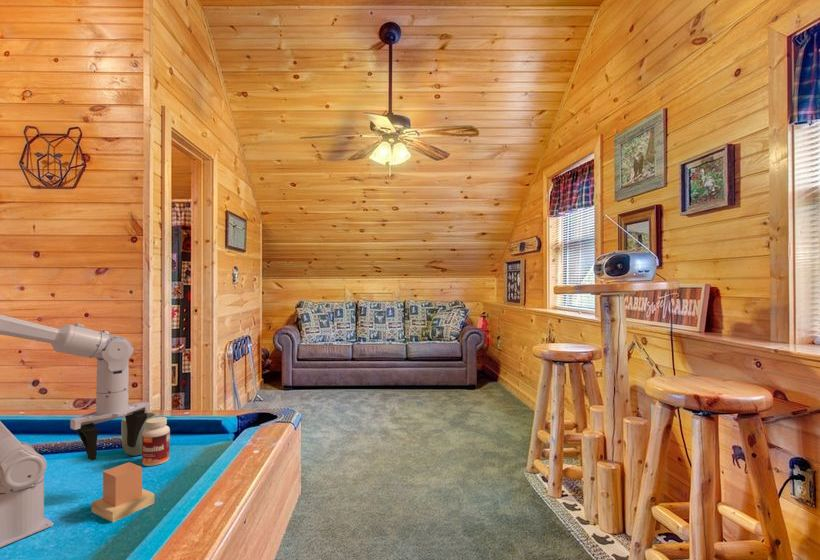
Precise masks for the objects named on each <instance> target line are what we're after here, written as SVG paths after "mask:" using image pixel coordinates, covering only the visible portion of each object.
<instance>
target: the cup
mask: <svg viewBox="0 0 820 560" xmlns="http://www.w3.org/2000/svg"><path fill="white" fill-rule="evenodd" d="M145 413H147V419H146V420H145V422H144V424H143V426H142V428H141V430H140V432H139V435H138V438H137V442H136V446H135V447H133V448H132V447H129V446H128V445H127V424H126V418H125V416H124V417H122V419H121V428H120V430H121V433H120V434H121V438H120V439H121V446H122V449H123V451H124V453H125V454H126V455H127V456H132V457H133V456H140V455H141V456H142V435H143V431H144V430H145V429H146V428H147V427H146V421H147V420H149V419H152V418H156V417H157V415H156V413H154V412H150V411H147V412H145Z"/></svg>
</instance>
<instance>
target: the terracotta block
mask: <svg viewBox="0 0 820 560" xmlns="http://www.w3.org/2000/svg"><path fill="white" fill-rule="evenodd" d="M142 489H143V466H141V465H139V464H138V465H137V464H135V463H132V462H130V461H129V462H126V463H122V464H120V465H118V466H114V467H111V468H109V469H105V470H104V471H102V498H103V501H105V502H107V503H109V504H111V505H113V506H115V507H116V506H119V505H121V504H123V503H126V502H128V501H130V500H133V499H135V498H137V497H140V496H142Z"/></svg>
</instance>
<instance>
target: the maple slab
mask: <svg viewBox="0 0 820 560" xmlns="http://www.w3.org/2000/svg"><path fill="white" fill-rule="evenodd" d="M153 504H155V493H153V492H152V491H149V490H146V489H145V488H142V496H140V497H137V498H135V499H133V500H130V501H128V502H126V503H123V504H121V505H119V506H116V507H115V506H113V505H111V504H109V503H107V502H105V501H103V497H101V498H99V499H96V500H94V501H91V513H93V514H95V515H97V516H99V517H101V518H102V519H105V520H107V521H109V522H110V523H115V522H117V521H118V520H121V519H124V518H126V517H128V516H130V515H132V514H134V513H137V512H138V511H141V510H143V509H145V508H147V507H149V506H151V505H153ZM136 511H137V512H136Z"/></svg>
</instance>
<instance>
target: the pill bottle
mask: <svg viewBox="0 0 820 560" xmlns="http://www.w3.org/2000/svg"><path fill="white" fill-rule="evenodd" d="M167 420H168V418H167V417H166V416H156V418H152V419H149V420H147V421H146V427H147V428H146V429H145V430H144V431H143V435H142V454H141V464H142V465H143V466H146V467H152V466H153V467H154V466H158V465H162V464H165V463H166V462H168V460H169V459H170V455H171V454H170V448H171V447H170V445H171V444H170V442H171V441H170V438H171V429H170V426H168V425H167V424H168V423H167V422H168V421H167Z"/></svg>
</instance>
